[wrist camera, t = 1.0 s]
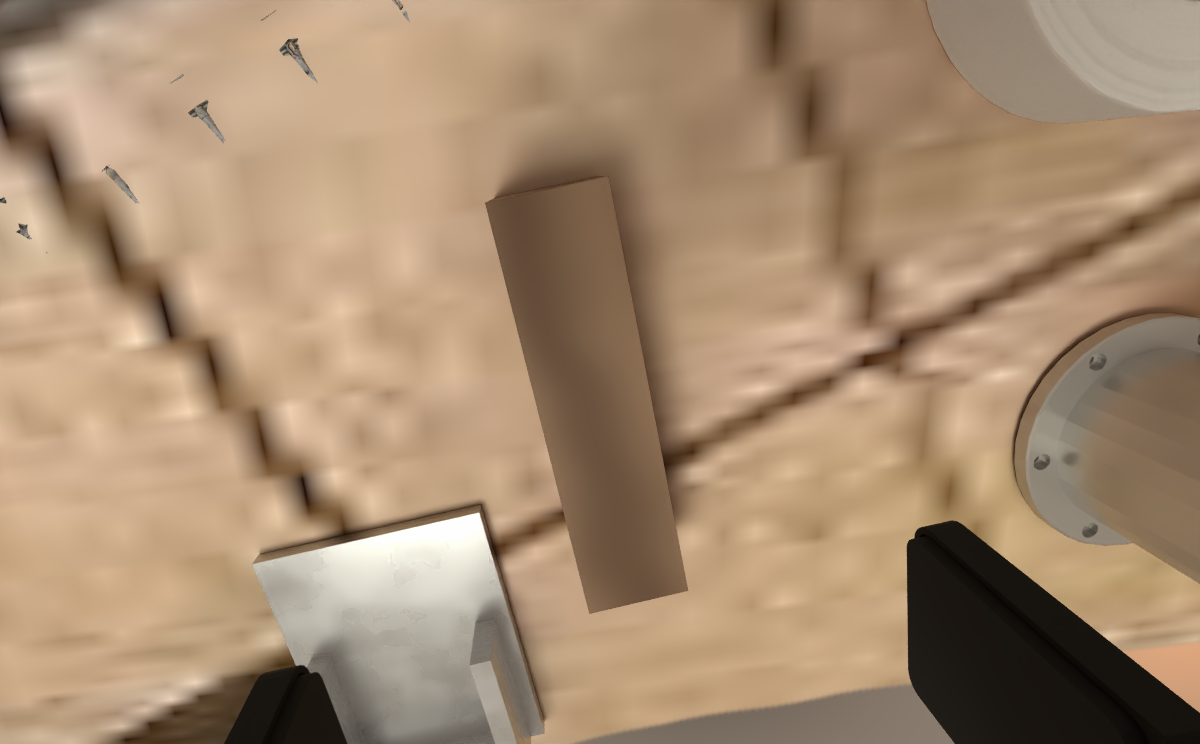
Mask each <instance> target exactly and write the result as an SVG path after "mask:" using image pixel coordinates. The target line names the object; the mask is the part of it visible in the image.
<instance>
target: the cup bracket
mask: <svg viewBox="0 0 1200 744" xmlns="http://www.w3.org/2000/svg"><path fill="white" fill-rule="evenodd" d="M252 565H253V568H254V570H255V572H256V575H257V577H258V579H259V581H260V584H261V586H262V588H263V591H264V593H265V595H266V597H267V600H268V602H269V604H270V607H271V609H272V611H273V613H274V616H275V618H276V620H277V623H278V625H279V627H280V630H281V632H282V634H283V636H284V639H285V641H286V643H287V646H288V648H289V650H290V652H291V655H292V657H293V659H294V662H295V664H296V666H298V665H304V666H305V667H307V668H308V670H309V672H310V673H313V672H318V673H319V674H320V675H321V677H322V679H323V681H324V684H325V686H326V689H327V691H328V694H329V697H330V699H331V702H332V704H333V707H334V710H335V712H336V715H337V717H338V720H339V723H340V725H341V728H342V730H343V733H344V736H345V738H346V741H347V743H348V744H531V736H535V735H539V734H544V719H543V715H542V712H541V708H540V705H539V702H538V698H537V695H536V691H535V688H534V685H533V681H532V678H531V674H530V671H529V668H528V664H527V661H526V657H525V654H524V651H523V647H522V644H521V640H520V637H519V634H518V630H517V627H516V623H515V620H514V617H513V613H512V610H511V606H510V603H509V600H508V596H507V593H506V589H505V586H504V583H503V579H502V576H501V572H500V569H499V566H498V562H497V559H496V555H495V552H494V549H493V545H492V542H491V538H490V535H489V532H488V528H487V525H486V521H485V518H484V515H483V511H482V508H481V505H477V506H472V507H468V508H463V509H459V510H455V511H450V512H446V513H441V514H437V515H432V516H428V517H424V518H419V519H415V520H410V521H406V522H401V523H397V524H393V525H388V526H384V527H379V528H375V529H370V530H366V531H362V532H357V533H353V534H348V535H344V536H340V537H335V538H331V539H326V540H322V541H317V542H313V543H309V544H304V545H300V546H295V547H291V548H286V549H282V550H278V551H273V552H269V553H264V554H260V555H258V557H257V558H256V560H255V561H254V562H253V564H252Z"/></svg>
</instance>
